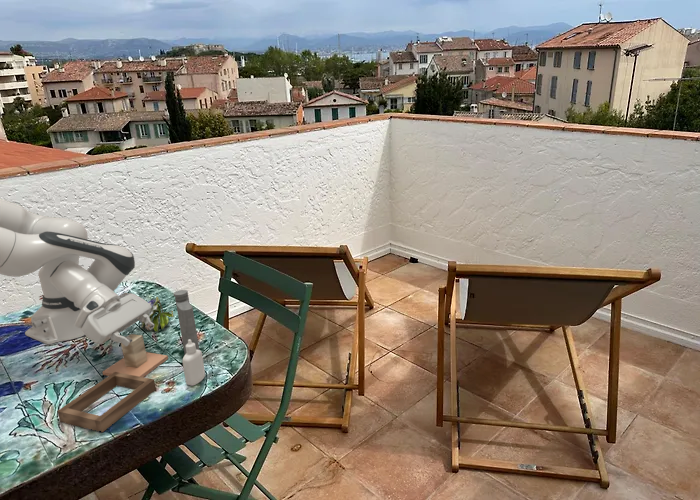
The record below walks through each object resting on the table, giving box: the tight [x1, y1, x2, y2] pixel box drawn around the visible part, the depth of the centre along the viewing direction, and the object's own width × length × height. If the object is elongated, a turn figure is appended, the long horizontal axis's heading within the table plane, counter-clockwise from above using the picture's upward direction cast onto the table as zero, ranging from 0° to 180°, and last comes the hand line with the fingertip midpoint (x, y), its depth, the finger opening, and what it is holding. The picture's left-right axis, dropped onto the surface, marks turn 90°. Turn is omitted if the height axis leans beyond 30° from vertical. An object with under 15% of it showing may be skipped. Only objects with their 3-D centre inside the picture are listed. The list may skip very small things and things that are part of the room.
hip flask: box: [173, 289, 200, 355], centre depth 132 cm, size 16×4×20 cm, turn 25°
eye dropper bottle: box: [182, 339, 206, 386], centre depth 120 cm, size 4×6×12 cm
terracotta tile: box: [102, 351, 169, 378], centre depth 129 cm, size 12×12×1 cm
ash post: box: [120, 333, 147, 368], centre depth 128 cm, size 4×4×8 cm
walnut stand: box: [56, 372, 157, 433], centre depth 112 cm, size 13×17×3 cm
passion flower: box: [138, 296, 175, 333], centre depth 153 cm, size 11×11×12 cm
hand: (141, 335), depth 126 cm, fingers open, 8 cm apart
